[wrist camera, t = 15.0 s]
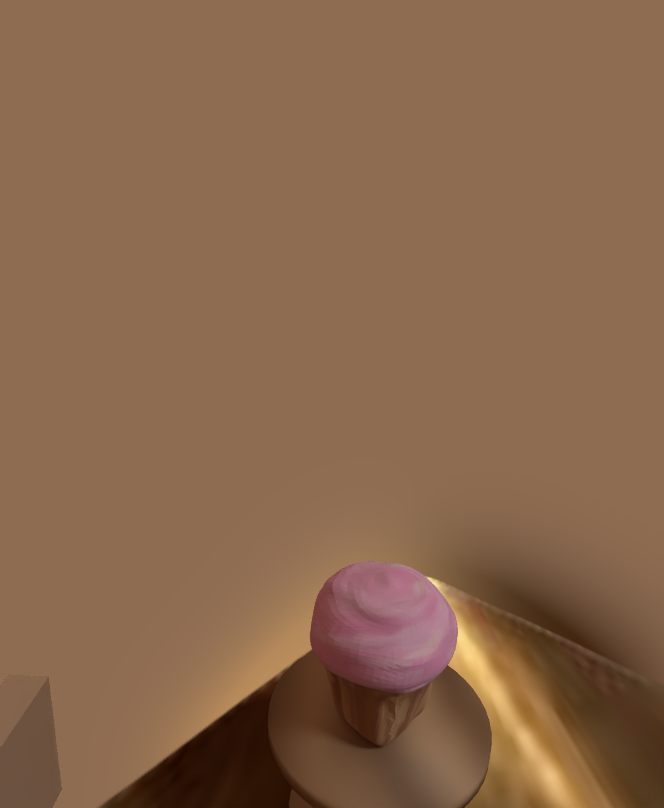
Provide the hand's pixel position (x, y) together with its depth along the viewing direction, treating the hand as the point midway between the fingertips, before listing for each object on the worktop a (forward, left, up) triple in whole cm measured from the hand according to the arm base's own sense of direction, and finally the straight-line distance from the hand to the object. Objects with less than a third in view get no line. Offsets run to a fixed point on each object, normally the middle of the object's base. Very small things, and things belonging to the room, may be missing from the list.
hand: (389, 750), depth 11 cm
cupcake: (-10, -19, -20) cm, 29 cm away
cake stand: (-10, -19, -29) cm, 36 cm away
